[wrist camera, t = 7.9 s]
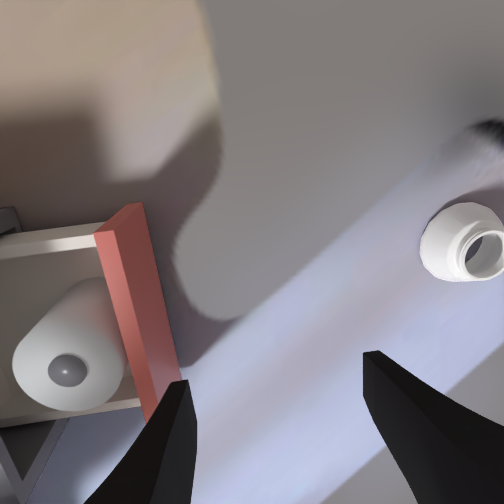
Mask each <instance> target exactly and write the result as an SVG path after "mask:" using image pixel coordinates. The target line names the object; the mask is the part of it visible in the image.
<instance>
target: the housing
mask: <svg viewBox="0 0 504 504" xmlns="http://www.w3.org/2000/svg"><path fill="white" fill-rule="evenodd" d="M22 232H23V231H22V229H21V226H20V223H19V220H18V217H17V214H16V212H15V209H14V207H6V208H0V235H6V234H14V233H22ZM69 418H70V417H68V418H61V419H55V420H49V421H42V422H36V423H29V424H23V425H16V426H10V427H3V428H0V504H26V502H27V500H28V498H29V496H30V494H31V492H32V490H33V488H34V486H35V484H36V482H37V480H38V478H39V476H40V474H41V472H42V470H43V468H44V467H45V465H46V463H47V461H48V459H49V457H50V455H51V453H52V451H53V449H54V447H55V445H56V443H57V441H58V439H59V437H60V435H61V433H62V431H63V429H64V427H65V426H66V424H67V422H68V420H69Z"/></svg>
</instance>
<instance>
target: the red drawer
mask: <svg viewBox="0 0 504 504" xmlns="http://www.w3.org/2000/svg"><path fill="white" fill-rule="evenodd" d="M93 277H104V278H106V282H107V285H108V289H109V293H110V296H111V300H112V303H113V307H114V310H115V314H116V318H117V321H118V325H119V328H120V332H121V335H122V339H123V343H124V346H125V350H126V353H127V357H128V360H129V361H128V364H127V366H126V369H125V372H124V374H123V377H122V379H121V382H120V385H119V387H118V389H117V390H116V392H115V393H114V394H113V396H112V397H111V398H110V399H108V400H107V401H106V402H104V403H103V404H101V405H99V406H97V407H94V408H91V409H87V410H82V411H63V410H57V409H53V408H50V407H47V406H45V405H43V404H40V403H39V402H37V401H35V400H34V399H32V398H31V397H30V396H28V395H27V394H26V393H25V392H24V391H23V389H22V388H21V387H20V386H19V384H18V382H17V381H16V378H15V376H14V372H13V366H12V362H13V356H14V352H15V350H16V348H17V346H18V345H19V343H20V342H21V341H22V340H23V339H24V338H25V336H26V335H27V334H28V333H29V332H30V331H31V330H32V329H33V328H34V327H35V326H36V324H37V323H38V322H39V321H40V320H41V319H42V318H43V317H44V316H45V315H46V314H47V312H48V311H49V310H50V309H51V308H52V307H53V306H54V305H55V304H56V303H57V302H58V300H59V299H60V298H61V297H62V296H63V295H64V294H65V293H66V292H67V291H68V290H69V289H70V288H71V287H72V286H73V285H74V284H76V283H78V282H79V281H82V280H84V279H88V278H93ZM180 380H182V378H181V374H180V369H179V365H178V360H177V356H176V351H175V347H174V342H173V338H172V333H171V329H170V324H169V320H168V315H167V311H166V306H165V302H164V297H163V293H162V288H161V284H160V279H159V275H158V270H157V266H156V261H155V257H154V252H153V248H152V243H151V239H150V234H149V230H148V225H147V221H146V216H145V212H144V207H143V203H142V202H138V203H130V204H127V205H125V206H124V207H123V208H122V209H121V210H119V211H118V212H117V213H116V214H115V215H114V216H112V217H111V218H110V219H109V220H108V221H106V222H99V223H91V224H83V225H76V226H68V227H60V228H52V229H45V230H37V231H29V232H22V233H14V234H6V235H0V428H3V427H10V426H16V425H23V424H29V423H36V422H42V421H49V420H55V419H61V418H68V417H74V416H81V415H87V414H94V413H100V412H107V411H113V410H120V409H126V408H133V407H139V406H141V407H142V410H143V414H144V417H145V421H146V424H147V422H148V420H149V419H150V417H151V416H152V414H153V412H154V411H155V409H156V407H157V406H158V404H159V402H160V400H161V399H162V397H163V395H164V393H165V391H166V390H167V388H168V386H169V384H170V383H171V382H174V381H180Z"/></svg>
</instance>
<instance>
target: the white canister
mask: <svg viewBox="0 0 504 504" xmlns="http://www.w3.org/2000/svg"><path fill="white" fill-rule="evenodd" d="M128 361H129V360H128V357H127V353H126V350H125V346H124V343H123V339H122V335H121V332H120V328H119V325H118V321H117V318H116V314H115V310H114V307H113V303H112V300H111V296H110V293H109V289H108V285H107V282H106V278H104V277H93V278H88V279H84V280H82V281H79V282H78V283H76V284H74V285H73V286H72V287H71V288H70V289H69V290H68V291H67V292H66V293H65V294H64V295H63V296H62V297H61V298H60V299H59V300H58V302H57V303H56V304H55V305H54V306H53V307H52V308H51V309H50V310H49V311H48V312H47V314H46V315H45V316H44V317H43V318H42V319H41V320H40V321H39V322H38V323H37V324H36V326H35V327H34V328H33V329H32V330H31V331H30V332H29V333H28V334H27V335H26V336H25V338H24V339H23V340H22V341H21V342H20V343H19V345H18V346H17V348H16V350H15V352H14V356H13V362H12V366H13V372H14V376H15V378H16V381H17V382H18V384H19V386H20V387H21V388H22V389H23V391H24V392H25V393H26V394H27V395H28V396H30V397H31V398H32V399H34V400H35V401H37V402H39V403H40V404H43V405H45V406H47V407H50V408H53V409H57V410H63V411H82V410H87V409H91V408H94V407H97V406H99V405H101V404H103V403H104V402H106V401H107V400H108V399H110V398H111V397H112V396H113V394H114V393H115V392H116V390H117V389H118V387H119V385H120V382H121V379H122V377H123V374H124V372H125V369H126V366H127V364H128Z"/></svg>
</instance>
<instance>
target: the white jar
mask: <svg viewBox="0 0 504 504" xmlns="http://www.w3.org/2000/svg"><path fill="white" fill-rule="evenodd" d="M481 236H483V239H482V244H481V246H480V248H479V249H478V251H477V253H476V254H475V255H474V256H473V257H472V258H471V259H470V260H469V261H467V262H465V256H466V253H467V250H468V249H469V247H470V246H471V244H472V243H473V242H474V241H475V240H477V239H478V238H480V237H481ZM420 256H421V259H422V262H423V265H424V267H425V268H426V269H427V270H428V271H429V272H430V273H431V274H432V275H434V276H435V277H436V278H440V279H443V280H446V281H449V282H457V281H475V280H477V281H484V280H489V279H492V278H494V277H496V276H498V275H499V274H500V273H502V272H503V271H504V225H503V224H502V222H501V220H500V219H499V218H498V217H497V215H496V214H495V213H494V212H493V211H492V210H491V209H490V208H488V207H485V206H483V205H480V204H477V203H474V202H468V203H457V204H454V205H452V206H450V207H448V208H446V209H444V210H442V211H441V212H440V213H439V214H438V215H437V216H436V217H435V218H433V219H432V220H431V221H430V222H429V224H428V226H427V228H426V230H425V232H424V233H423V235H422V237H421V244H420Z"/></svg>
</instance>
